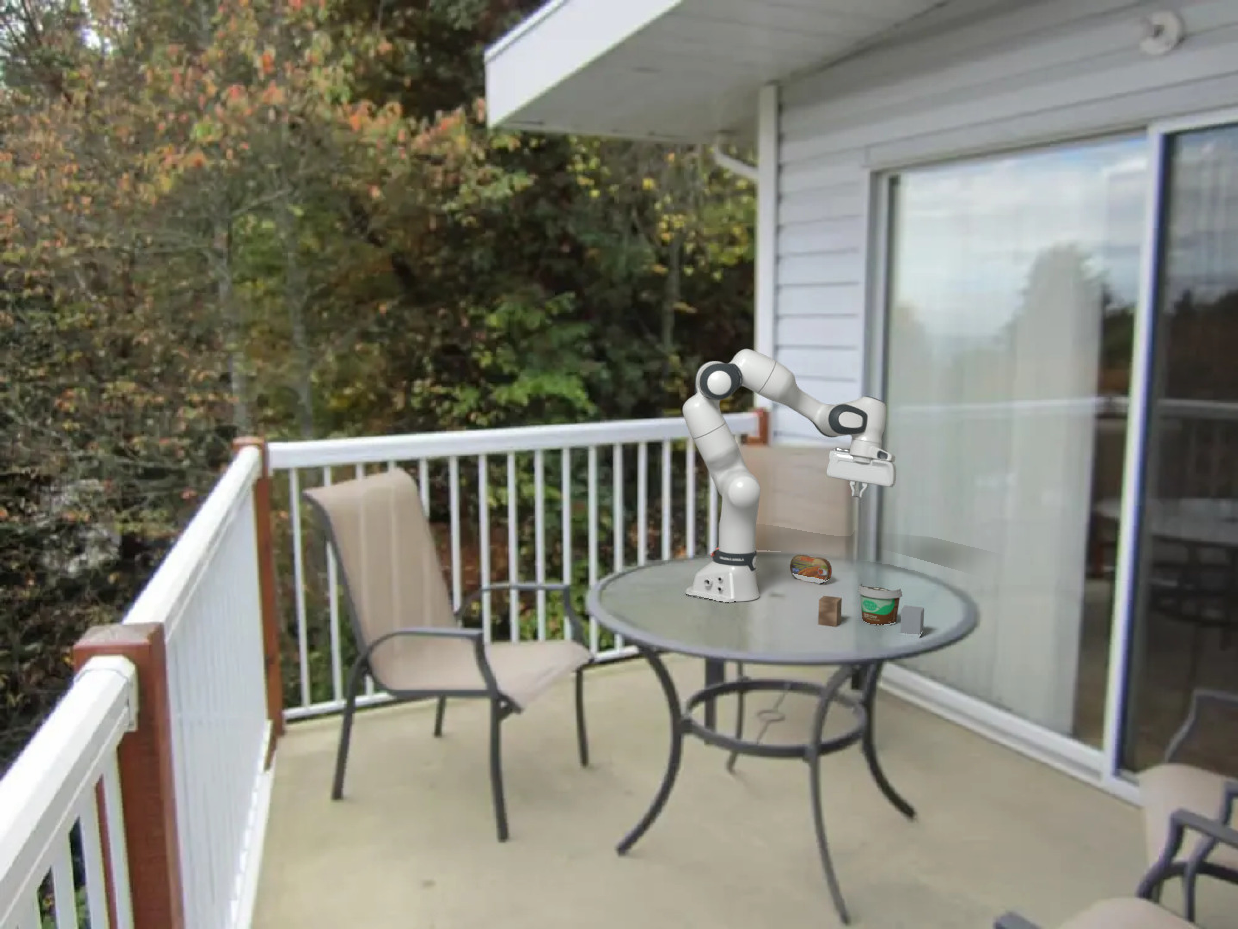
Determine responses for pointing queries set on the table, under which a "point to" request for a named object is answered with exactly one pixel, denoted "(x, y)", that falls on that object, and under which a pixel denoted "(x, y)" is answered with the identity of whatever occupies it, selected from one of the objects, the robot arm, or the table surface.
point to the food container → (879, 604)
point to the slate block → (912, 620)
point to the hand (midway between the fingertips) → (856, 497)
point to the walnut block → (829, 611)
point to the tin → (811, 567)
